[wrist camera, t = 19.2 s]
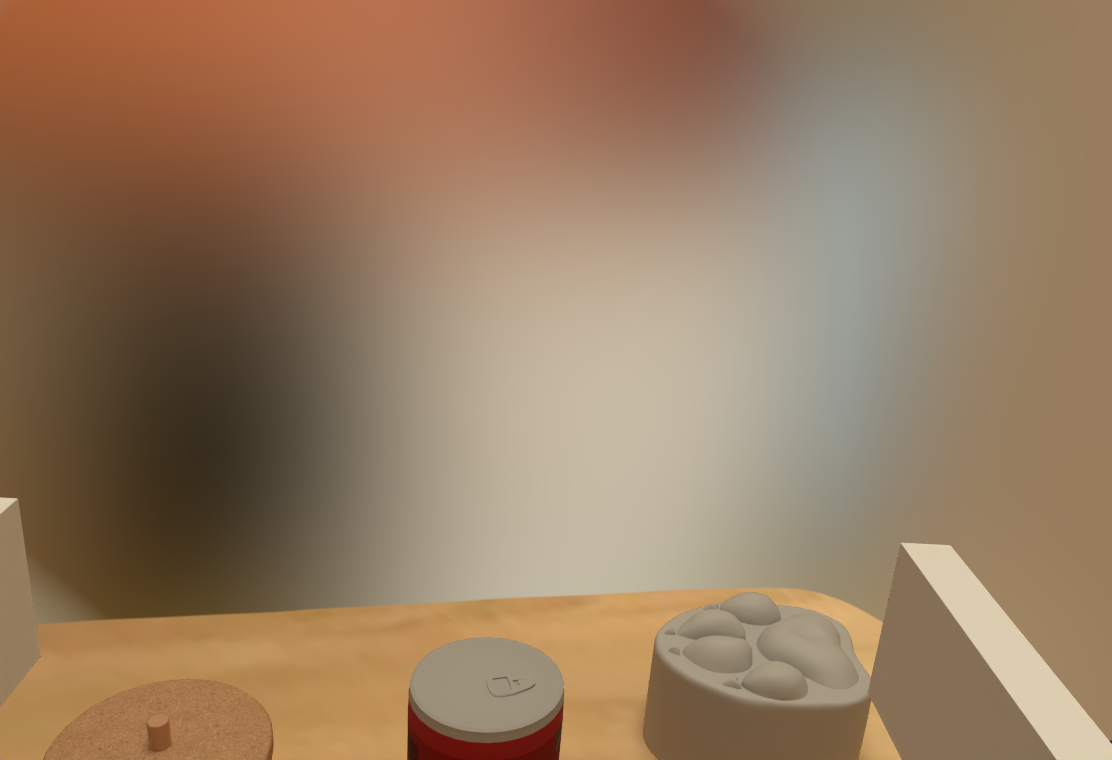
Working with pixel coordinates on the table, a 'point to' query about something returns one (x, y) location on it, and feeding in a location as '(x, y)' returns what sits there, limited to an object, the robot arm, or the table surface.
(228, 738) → the lidded jar
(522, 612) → the table surface
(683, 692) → the lumpy-topped squat cylinder
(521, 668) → the canned food
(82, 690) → the table surface
